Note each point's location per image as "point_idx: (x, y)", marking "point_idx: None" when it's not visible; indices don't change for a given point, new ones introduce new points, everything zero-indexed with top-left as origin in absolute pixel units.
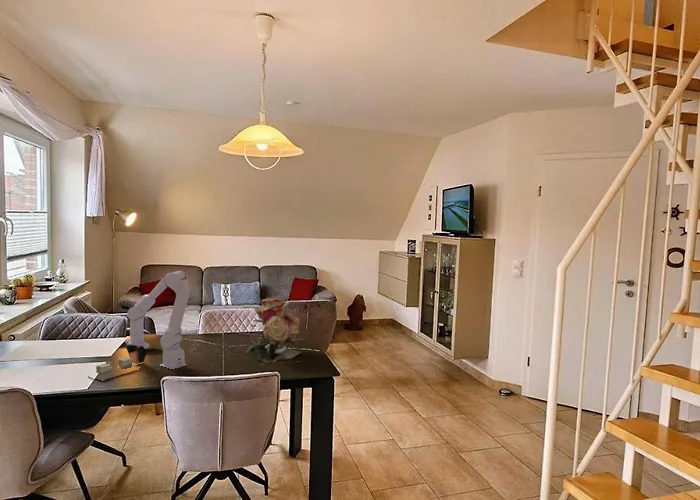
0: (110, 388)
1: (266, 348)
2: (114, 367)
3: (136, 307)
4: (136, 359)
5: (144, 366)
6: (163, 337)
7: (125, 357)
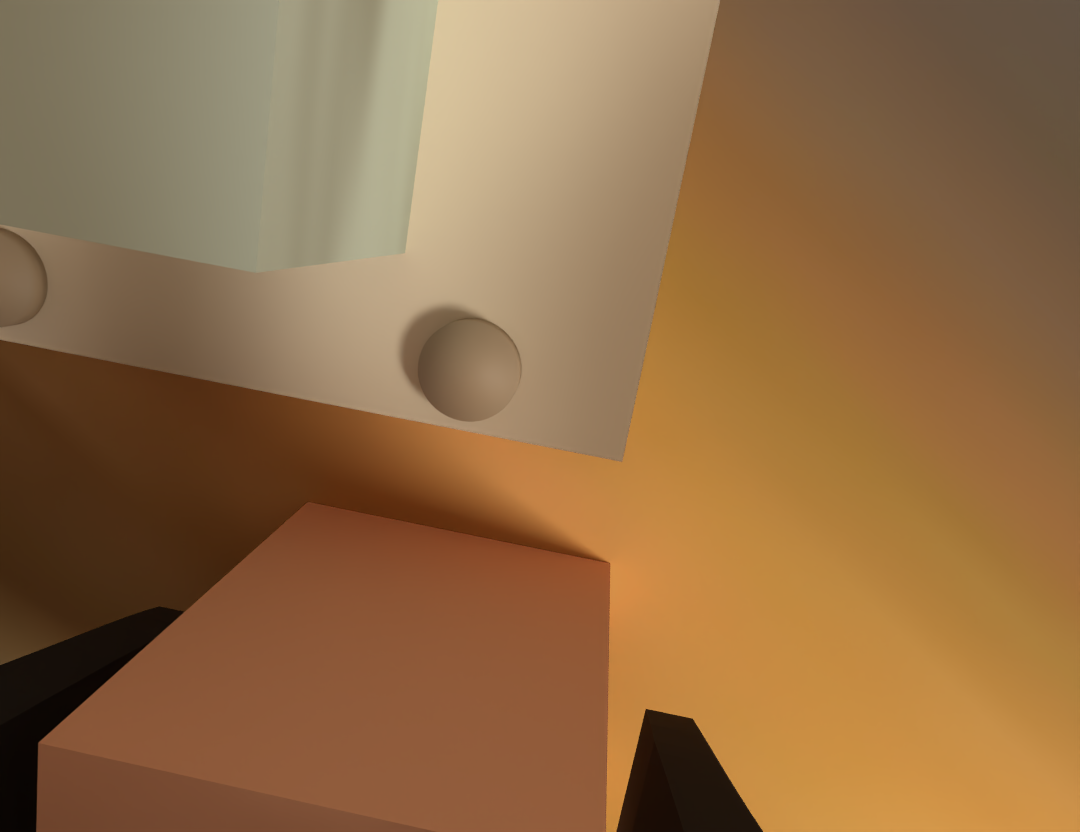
0: None
1: None
2: (856, 97)
3: None
4: (196, 619)
5: (57, 558)
6: None
7: (234, 163)
